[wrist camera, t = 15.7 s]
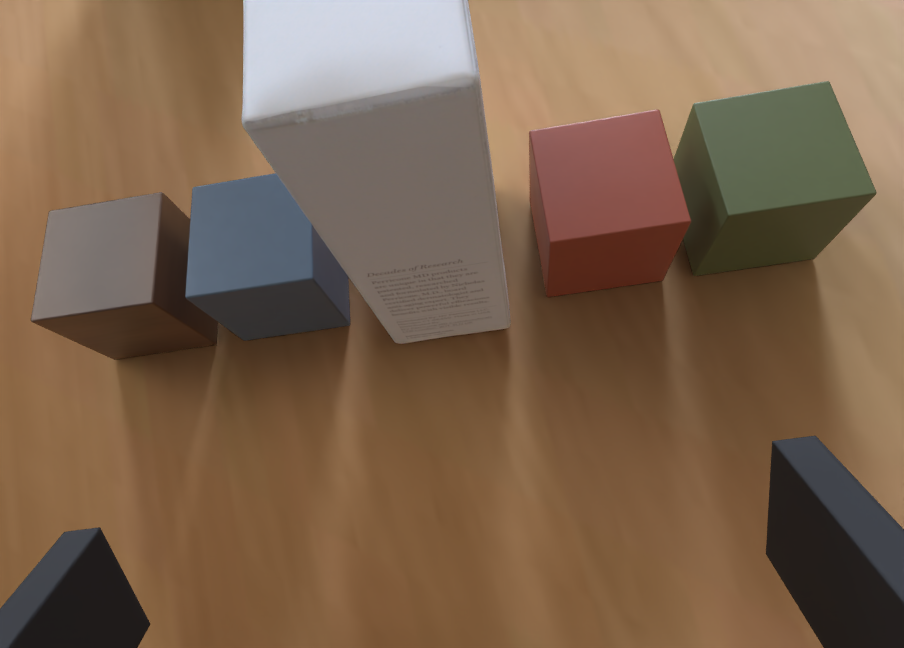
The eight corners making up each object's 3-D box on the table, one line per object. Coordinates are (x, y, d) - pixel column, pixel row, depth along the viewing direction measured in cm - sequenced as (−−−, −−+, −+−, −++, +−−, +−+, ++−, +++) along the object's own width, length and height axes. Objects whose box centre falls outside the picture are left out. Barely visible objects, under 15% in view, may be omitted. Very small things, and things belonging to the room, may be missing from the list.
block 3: (546, 297, 21) (549, 242, 17) (529, 200, 22) (528, 130, 19) (663, 281, 21) (691, 221, 17) (638, 183, 22) (659, 108, 18)
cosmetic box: (380, 203, 23) (239, -120, 12) (490, 185, 23) (449, -165, 12) (392, 351, 21) (231, 125, 10) (514, 334, 21) (490, 78, 9)
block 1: (114, 360, 22) (29, 321, 18) (124, 264, 24) (48, 210, 20) (217, 345, 22) (152, 303, 18) (221, 248, 23) (162, 191, 20)
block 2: (243, 341, 22) (184, 298, 18) (246, 244, 23) (191, 186, 19) (350, 326, 21) (312, 278, 18) (346, 228, 23) (310, 166, 19)
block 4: (693, 277, 20) (728, 215, 17) (666, 178, 22) (693, 102, 18) (814, 259, 20) (878, 193, 16) (778, 161, 22) (829, 79, 18)
